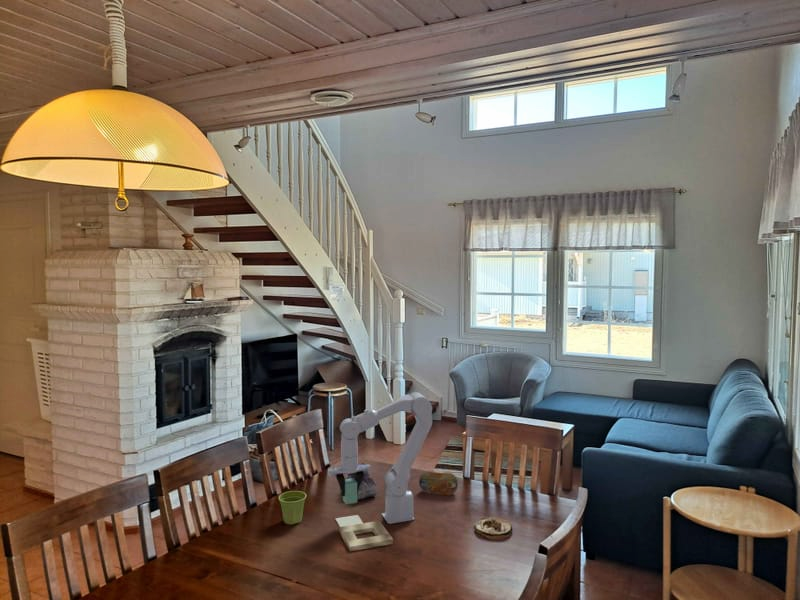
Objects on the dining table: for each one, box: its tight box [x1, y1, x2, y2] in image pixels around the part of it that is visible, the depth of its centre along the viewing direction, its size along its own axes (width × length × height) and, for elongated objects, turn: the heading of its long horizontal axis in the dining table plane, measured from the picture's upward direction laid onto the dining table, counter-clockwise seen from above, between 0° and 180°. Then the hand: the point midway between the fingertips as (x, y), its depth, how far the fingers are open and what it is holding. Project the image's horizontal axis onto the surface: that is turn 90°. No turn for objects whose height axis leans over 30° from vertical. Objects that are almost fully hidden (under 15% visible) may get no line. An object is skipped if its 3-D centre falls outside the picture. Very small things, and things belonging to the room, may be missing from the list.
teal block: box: [342, 478, 358, 505], centre depth 189 cm, size 4×4×7 cm
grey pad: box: [335, 514, 364, 528], centre depth 190 cm, size 8×8×1 cm
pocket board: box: [338, 520, 394, 552], centre depth 180 cm, size 14×14×1 cm
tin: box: [418, 470, 459, 496], centre depth 216 cm, size 15×3×8 cm, turn 73°
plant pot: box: [278, 490, 307, 525], centre depth 191 cm, size 9×9×9 cm
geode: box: [346, 462, 378, 501], centre depth 217 cm, size 20×12×10 cm, turn 14°
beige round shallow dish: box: [473, 517, 513, 540], centre depth 184 cm, size 15×15×4 cm
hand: (349, 494), depth 190 cm, fingers closed on teal block, 4 cm apart
